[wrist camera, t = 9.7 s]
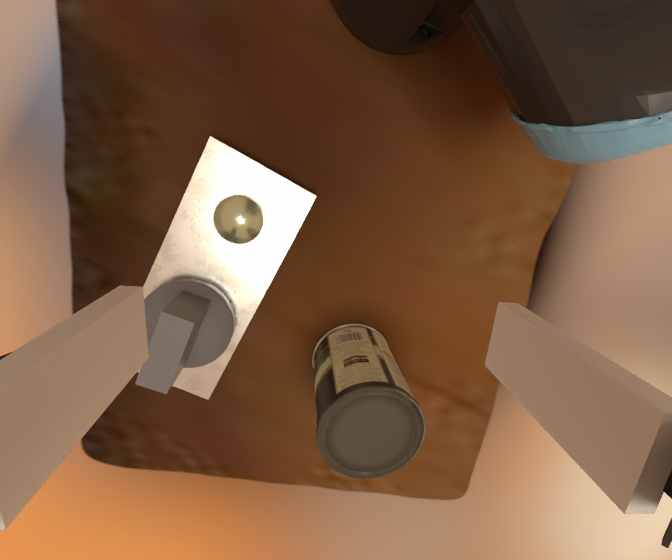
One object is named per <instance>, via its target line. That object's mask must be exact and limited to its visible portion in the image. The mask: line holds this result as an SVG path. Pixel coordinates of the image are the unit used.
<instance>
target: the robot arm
mask: <svg viewBox="0 0 672 560" xmlns="http://www.w3.org/2000/svg"><path fill="white" fill-rule="evenodd" d="M332 3H333V5H334V7H335V10H336V11H337V13H338V15H339V17H340V18H341V20H342V21H343V23H344V24H345V26H346V27H347V28H348V29H349V30H350V31H351V32H352V33H353V35H355V36H356V37H357V38H358V39H359V40H361V41H362V42H363V43H365V44H366V45H368V46H370V47H372V48H374V49H376V50H378V51H382V52H385V53H390V54H411V53H416V52H420V51H423V50H425V49H427V48H429V47H431V46H433V45H435V44H437V43H438V42H439V41H441V40H442V39H443V38H445V37H446V36H447V35H448V34H449V33H450V32H451V31H452V30H453V29H454V28H455V27H456V26H457V25H458V24H459V23H460V22H461V21H462V22H463V24H464V25H465V27H466V29H467V31H468V33H469V34H470V36H471V38H472V40H473V42H474V44H475V45H476V47H477V49H478V51H479V53H480V54H481V56H482V58H483V60H484V62H485V64H486V65H487V67H488V69H489V71H490V73H491V74H492V76H493V78H494V80H495V82H496V84H497V85H498V87H499V89H500V91H501V93H502V94H503V96H504V98H505V100H506V102H507V104H508V105H509V107H510V114H511V116H512V118H513V119H514V120H515V121H516V122H517V123H518V124H520V125H521V126H522V127H523V129H524V130H525V132H526V133H527V135H528V137H529V138H530V140H531V141H532V143H533V144H534V146H535V147H536V149H537V150H538V151H539V152H540V153H541V154H542V155H544V156H546V157H547V158H551V159H554V160H559V161H561V162H564V163H575V164H585V163H597V162H605V161H611V160H616V159H621V158H625V157H629V156H634V155H638V154H641V153H645V152H648V151H651V150H655V149H658V148H661V147H664V146H667V145H669V144H672V0H332ZM148 358H149V353H148V341H147V329H146V317H145V305H144V293H143V287H136V286H119V287H117V288H115V289H114V290H112V291H111V292H109V293H107V294H106V295H104V296H102V297H101V298H99V299H98V300H96V301H94V302H93V303H91V304H90V305H88V306H86V307H85V308H83V309H81V310H80V311H78V312H77V313H75V314H73V315H72V316H70V317H69V318H67V319H65V320H64V321H62V322H61V323H59V324H57V325H56V326H54V327H52V328H51V329H49V330H48V331H46V332H44V333H43V334H41V335H40V336H38V337H36V338H35V339H33V340H31V341H30V342H29V343H27V344H25V345H24V346H22V347H20V348H19V349H17V350H15V351H13V352H11V353H8V354H6V355H3V356H0V530H6V528H7V527H8V526H9V525H10V523H11V522H12V521H13V520H14V519H15V518H16V516H17V515H18V514H19V513H20V512H21V510H22V509H23V508H24V507H25V506H26V504H27V503H28V502H29V501H30V499H31V498H32V497H33V496H34V495H35V494H36V492H37V491H38V490H39V488H41V486H42V485H43V484H44V483H45V482H46V480H47V479H48V478H49V477H50V476H51V474H52V473H53V472H54V471H55V470H56V468H57V467H58V466H59V465H60V464H61V462H62V461H63V460H64V459H65V458H66V456H67V455H68V454H69V453H70V452H71V450H72V449H73V448H74V447H75V446H76V444H77V443H78V442H79V441H80V440H81V438H82V437H83V436H84V435H85V434H86V432H87V431H88V430H89V429H90V428H91V426H92V425H93V424H94V423H95V422H96V420H97V419H98V418H99V417H100V416H101V414H102V413H103V412H104V411H105V410H106V408H107V407H108V406H109V405H110V404H111V402H112V401H113V400H114V399H115V398H116V396H117V395H118V394H119V393H120V392H121V390H122V389H123V388H124V387H125V386H126V384H127V383H128V382H129V381H130V380H131V378H132V377H133V376H134V375H135V374H136V372H137V371H138V370H139V369H140V368H141V366H142V365H143V364H144V363H145V362H146V360H147V359H148ZM485 366H486V367H487V368H488V369H489V370H490V371H491V372H492V373H493V375H494V376H495V377H496V378H497V379H498V380H499V381H500V382H501V383H502V384H503V385H504V386H505V387H506V388H507V389H508V390H509V392H510V393H511V394H512V395H513V396H514V397H515V398H516V399H517V400H518V401H519V402H520V403H521V404H522V405H523V406H524V407H525V409H526V410H527V411H528V412H529V413H530V414H531V415H532V416H533V417H534V418H535V419H536V420H537V421H538V422H539V423H540V425H541V426H542V427H543V428H544V429H545V430H546V431H547V432H548V433H549V434H550V435H551V436H552V437H553V438H554V439H555V440H556V441H557V443H558V444H559V445H560V446H561V447H562V448H563V449H564V450H565V451H566V452H567V453H568V454H569V455H570V456H571V458H572V459H573V460H574V461H575V462H576V463H577V464H578V465H579V466H580V467H581V468H582V469H583V470H584V471H585V472H586V473H587V474H588V476H589V477H590V478H591V479H592V480H593V481H594V482H595V483H596V484H597V485H598V486H599V487H600V488H601V489H602V491H603V492H604V493H605V494H606V495H607V496H608V497H609V498H610V499H611V500H612V501H613V502H614V503H615V504H616V505H617V506H618V508H619V509H620V510H621V511H622V512H623V513H624V514H648V513H655V511H656V509H657V506H658V504H659V502H660V499H661V497H662V495H663V492H665V493H666V494H667V495H668V496H669V497H671V498H672V397H670V396H668V395H667V394H665V393H664V392H662V391H660V390H659V389H657V388H655V387H654V386H652V385H650V384H649V383H647V382H646V381H644V380H642V379H641V378H639V377H637V376H636V375H634V374H632V373H631V372H629V371H628V370H626V369H624V368H623V367H621V366H619V365H617V364H616V363H614V362H613V361H611V360H609V359H608V358H606V357H605V356H603V355H601V354H600V353H598V352H597V351H595V350H593V349H592V348H590V347H588V346H586V345H585V344H583V343H582V342H580V341H578V340H577V339H575V338H574V337H572V336H570V335H569V334H567V333H565V332H564V331H562V330H560V329H559V328H557V327H555V326H554V325H552V324H551V323H549V322H547V321H546V320H544V319H542V318H541V317H539V316H538V315H536V314H534V313H533V312H531V311H530V310H528V309H526V308H525V307H523V306H521V305H520V304H518V303H507V302H499V303H498V307H497V312H496V316H495V321H494V326H493V330H492V335H491V339H490V344H489V348H488V353H487V357H486V362H485ZM671 541H672V519H671V521H670V523H669V525H668V528H667V530H666V532H665V534H664V536H663V539H662V545H663V546H665V547H667V548H668V547H669V545H670V543H671Z"/></svg>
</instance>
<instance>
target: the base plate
mask: <svg viewBox="0 0 672 560" xmlns="http://www.w3.org/2000/svg"><path fill="white" fill-rule="evenodd" d="M315 198H316V195H315V194H313V193H311V192H309V191H308V190H306V189H304V188H302V187H301V186H299V185H297V184H295V183H293V182H292V181H290V180H288V179H286V178H285V177H283V176H281V175H279V174H278V173H276V172H274V171H272V170H271V169H269V168H267V167H265V166H263V165H262V164H260V163H258V162H256V161H255V160H253V159H251V158H249V157H248V156H246V155H244V154H242V153H241V152H239V151H237V150H235V149H233V148H232V147H230V146H228V145H226V144H225V143H223V142H221V141H219V140H218V139H216V138H214V137H211V136H210V138H209V140H208V142H207V145H206V147H205V149H204V151H203V154H202V156H201V158H200V160H199V163H198V165H197V167H196V169H195V172H194V174H193V176H192V178H191V181H190V183H189V185H188V187H187V190H186V192H185V194H184V196H183V199H182V201H181V203H180V206H179V208H178V210H177V212H176V215H175V217H174V219H173V221H172V224H171V226H170V228H169V230H168V233H167V235H166V237H165V239H164V242H163V244H162V246H161V248H160V251H159V253H158V255H157V257H156V260H155V262H154V264H153V266H152V269H151V271H150V273H149V275H148V278H147V280H146V282H145V284H144V287H143V293H144V299H145V298H146V297H147V296H148V295H149V294H150V293H151V292H153V291H154V290H155V289H156V288H158V287H159V286H161V285H162V284H164V283H166V282H168V281H170V280H174V279H178V278H195V279H200V280H203V281H206V282H208V283H210V284H212V285H214V286H215V287H217V288H218V289H219V290H220V291H222V292H223V293H224V294H225V296H226V297H227V298H228V299H229V301H230V303H231V305H232V307H233V309H234V313H235V320H236V321H235V330H234V333H233V336H232V338H231V341H230V343H229V345H228V347H227V349H226V350H225V351H224V353H223V354H222V355H221V356H220V357H219V358H217V359H216V360H215V361H213V362H211V363H209V364H207V365H204V366H201V367H196V368H183V369H182V371H181V372H180V374H179V375H178V377H177V379H176V380H175V382H174V384H173V385H172V386H175V387H177V388H180V389H182V390H185V391H187V392H190V393H192V394H195V395H197V396H200V397H202V398H205V399H209V398H210V396H211V394H212V392H213V390H214V388H215V386H216V384H217V383H218V381H219V379H220V377H221V375H222V373H223V371H224V369H225V368H226V366H227V364H228V362H229V360H230V358H231V356H232V354H233V352H234V351H235V349H236V347H237V345H238V343H239V341H240V339H241V337H242V336H243V334H244V332H245V330H246V328H247V326H248V324H249V322H250V321H251V319H252V317H253V315H254V313H255V311H256V309H257V307H258V305H259V304H260V302H261V300H262V298H263V296H264V294H265V292H266V290H267V289H268V287H269V285H270V283H271V281H272V279H273V277H274V275H275V274H276V272H277V270H278V268H279V266H280V264H281V262H282V260H283V259H284V257H285V255H286V253H287V251H288V249H289V247H290V245H291V243H292V242H293V240H294V238H295V236H296V234H297V232H298V230H299V228H300V227H301V225H302V223H303V221H304V219H305V217H306V215H307V213H308V212H309V210H310V208H311V206H312V204H313V202H314V200H315ZM141 367H142V366H141ZM140 369H141V368H140ZM140 369H139V370H138V371H137V372H140Z"/></svg>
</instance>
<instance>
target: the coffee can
mask: <svg viewBox="0 0 672 560" xmlns="http://www.w3.org/2000/svg"><path fill="white" fill-rule="evenodd" d="M312 364H313V370H314V383H315V398H316V416H317V431H316V440H317V447H318V450H319V453H320V455H321V456H322V458H323V459H324V461H325V462H326V463H327V464H328V465H329V466H330V467H331V468H333V469H334V470H335V471H337V472H339V473H341V474H343V475H345V476H349V477H353V478H359V479H370V478H378V477H382V476H386V475H389V474H391V473H393V472H395V471H397V470H399V469H401V468H402V467H404V466H405V465H406V464H408V463H409V462H410V461H411V460H412V459H413V458H414V457H415V455H416V454H417V453H418V451H419V450H420V448H421V446H422V443H423V441H424V438H425V433H426V422H425V417H424V414H423V412H422V410H421V408H420V406H419V404H418V403H417V401H416V400H415V399H414V397H413V395H412V393H411V391H410V389H409V387H408V385H407V383H406V381H405V379H404V377H403V375H402V373H401V371H400V369H399V367H398V365H397V363H396V361H395V359H394V357H393V355H392V353H391V351H390V349H389V347H388V344H387V342H386V340H385V339H384V337H383V336H382V335H381V334H380V333H379V332H378V331H376V330H375V329H373V328H372V327H369V326H367V325H363V324H358V323H353V324H344V325H341V326H338V327H335V328H333V329H332V330H330V331H328V332H327V333H326V334H325V335H324V336H323V337H322V338H321V339H320V340H319V342H318V343H317V345H316V347H315V349H314V352H313V357H312Z"/></svg>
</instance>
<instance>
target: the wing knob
mask: <svg viewBox="0 0 672 560" xmlns="http://www.w3.org/2000/svg"><path fill="white" fill-rule="evenodd" d="M144 305H145V317H146V329H147V341H148V353H149V358H148V359H147V360H146V362H145V363H144V364H143V365H142V367H141V369H140V372H139V375H138V378H137V380H136V383H135V384H136V385H139V386H142V387H145V388H149V389H152V390H155V391H158V392H161V393H164V394H167V393H168V392H169V390H170V389H171V387H172V385H173V384H174V382H175V380H176V379H177V377H178V375H179V374H180V372H181V371H182V369H183V368H196V367H201V366H204V365H207V364H209V363H211V362H213V361H215V360H216V359H217V358H219V357H220V356H221V355H222V354H223V353H224V351H225V350H226V349H227V347H228V345H229V343H230V341H231V338H232V336H233V333H234V330H235V321H236V320H235V313H234V309H233V307H232V305H231V303H230V301H229V299H228V298H227V297H226V296H225V294H224V293H223V292H222V291H220V290H219V289H218V288H217V287H215V286H214V285H212V284H210V283H208V282H206V281H203V280H200V279H195V278H178V279H174V280H170V281H168V282H166V283H164V284H162V285H161V286H159V287H158V288H156V289H155V290H154V291H153V292H151V293H150V294H149V295H148V296H147V297H146V298H145V299H144Z"/></svg>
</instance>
